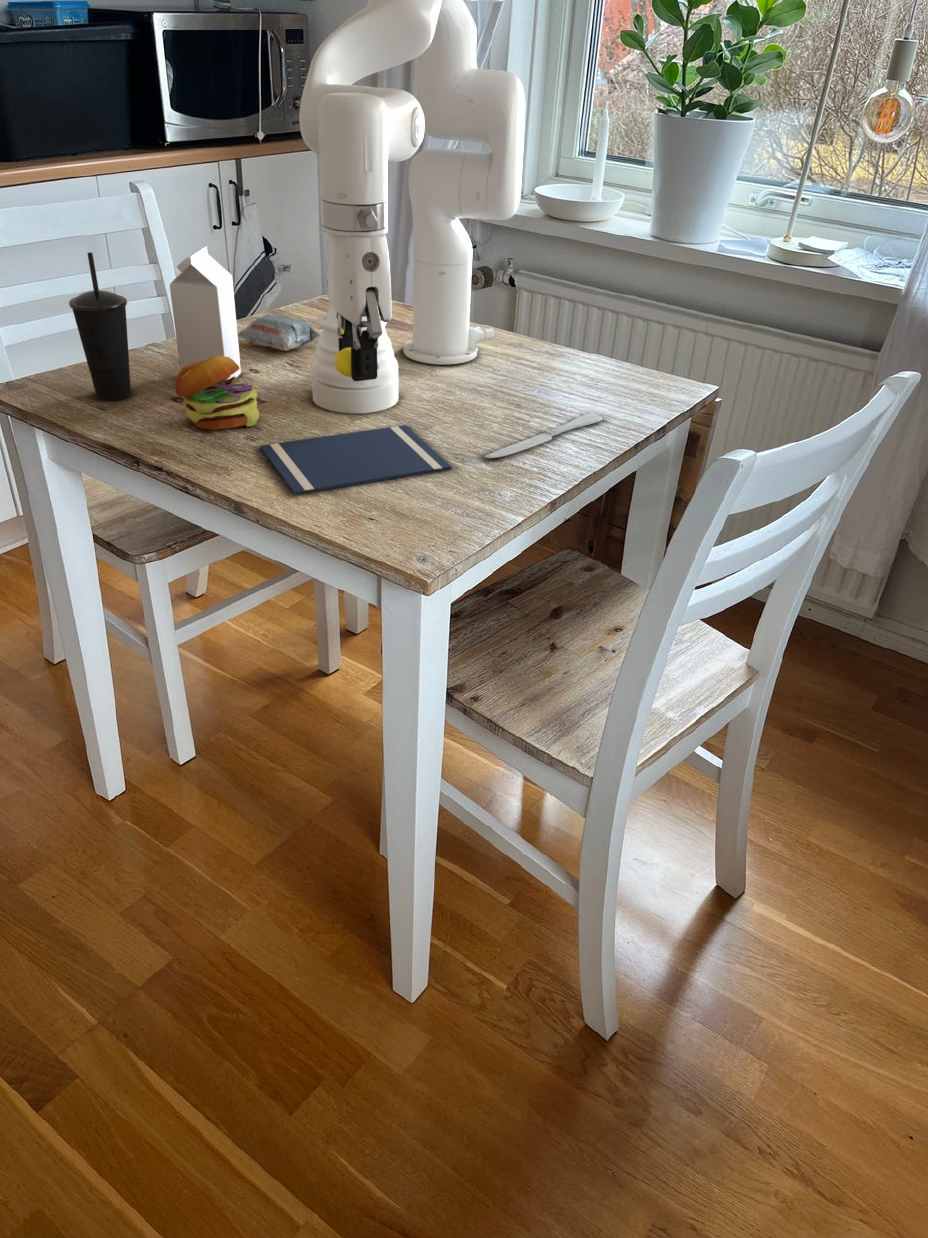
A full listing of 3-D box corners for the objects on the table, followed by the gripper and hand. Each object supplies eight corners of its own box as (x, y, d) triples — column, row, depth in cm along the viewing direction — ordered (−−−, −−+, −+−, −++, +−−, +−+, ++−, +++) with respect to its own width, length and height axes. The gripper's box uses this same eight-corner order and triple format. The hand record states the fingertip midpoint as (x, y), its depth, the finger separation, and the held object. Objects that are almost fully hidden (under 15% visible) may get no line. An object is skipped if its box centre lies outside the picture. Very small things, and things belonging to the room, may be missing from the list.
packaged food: (289, 360, 155) (287, 329, 152) (234, 346, 160) (231, 317, 157) (321, 348, 162) (320, 318, 159) (267, 335, 166) (265, 306, 164)
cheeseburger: (240, 438, 127) (216, 365, 122) (176, 444, 131) (150, 374, 126) (276, 412, 135) (255, 343, 130) (214, 418, 139) (191, 351, 134)
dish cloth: (406, 427, 133) (406, 424, 133) (451, 468, 122) (451, 465, 122) (260, 448, 125) (259, 445, 125) (294, 494, 114) (294, 491, 113)
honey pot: (294, 396, 142) (287, 271, 132) (359, 377, 150) (356, 259, 140) (351, 420, 134) (348, 290, 125) (415, 399, 142) (417, 276, 133)
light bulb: (328, 375, 117) (330, 345, 116) (370, 381, 120) (372, 353, 120) (342, 374, 114) (344, 344, 114) (384, 381, 118) (386, 351, 117)
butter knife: (607, 417, 138) (591, 411, 140) (494, 459, 124) (478, 452, 125) (606, 419, 138) (591, 414, 140) (493, 462, 124) (478, 455, 125)
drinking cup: (93, 385, 142) (68, 245, 131) (145, 386, 142) (124, 247, 132) (80, 403, 135) (52, 258, 124) (135, 404, 136) (112, 259, 125)
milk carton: (241, 373, 149) (229, 247, 139) (227, 388, 143) (214, 257, 133) (197, 370, 149) (182, 244, 139) (182, 385, 143) (165, 254, 133)
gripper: (414, 229, 103) (412, 392, 113) (359, 202, 115) (362, 351, 125) (349, 233, 100) (353, 399, 110) (300, 205, 112) (308, 357, 122)
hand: (358, 372), depth 118 cm, fingers closed on light bulb, 3 cm apart
